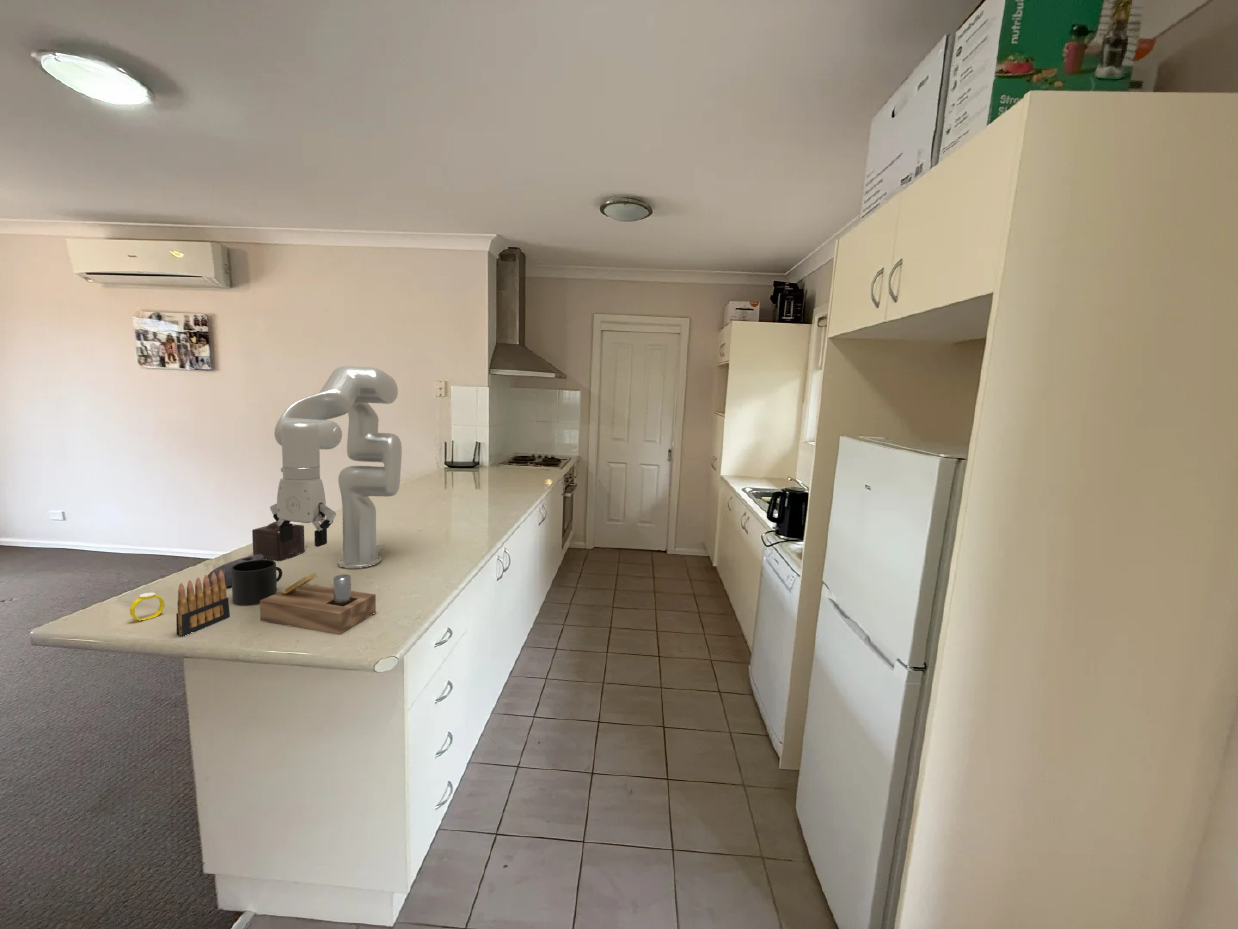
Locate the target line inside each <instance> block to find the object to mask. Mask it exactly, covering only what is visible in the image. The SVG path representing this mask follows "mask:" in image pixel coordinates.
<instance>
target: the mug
mask: <svg viewBox="0 0 1238 929" xmlns="http://www.w3.org/2000/svg"><path fill="white" fill-rule="evenodd" d="M276 562H277V561H274V560H266V559H264V560H252V561H246V562H242V563H239V564H236V565H234V566H233V567H232V568H231V576H232V586H231V593H232V595H231V596H232V602H233V604H235V605H240V606H252V605H258V604H259V605H260V600H262V599H265V598H267V597H269V596H272V595H274V594H277V593H278V586H277V585H278V582H279V581H280V580H281V579H282V576H283V570H282V569H281V567H279V566H277V563H276ZM277 571H278V575H277Z"/></svg>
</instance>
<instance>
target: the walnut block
mask: <svg viewBox="0 0 1238 929" xmlns="http://www.w3.org/2000/svg"><path fill="white" fill-rule="evenodd" d="M282 591H283V590H282ZM282 591H280V592H279V591H278V592H277V594H274V595H272V596H269V597H267V598H265V599H262V600H260V603H259V616H260V621H262V622H267V623H273V624H279V625H284V626H290V627H296V628H302V629H307V630H313V631H319V632H325V633H330V634H336V635H342V634H343V633H346V631H349V630H351V629H352V628H354V627H355V626H356V625H359V624H360V623H362V622H364V621H365V620H366V619H368V617H369V616H370V617H372V616H373V615H372V614H373V613H375V614H376V612H377V611H376V610H377V607H376V606H377V605H376V603H377V602H376V601H377V600H376V599H377V596H376V593H369V592H362V591H355V590H351V603H349V604H348V605H346V606H337V605H334V587H330V586H323V585H317V584H309V583H306V584H304V585H303V586H301V587H299V588H298V589H296V590H294V591H292V592H290V593H287V594H285V595H283V594H282ZM371 615H372V616H371ZM370 617H369V618H370ZM364 619H365V620H364ZM363 620H364V621H363Z"/></svg>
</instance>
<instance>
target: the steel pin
mask: <svg viewBox="0 0 1238 929" xmlns="http://www.w3.org/2000/svg"><path fill="white" fill-rule="evenodd" d="M351 583H352V582H351V575H349V574H339V575H335V576H334V577H333V588H334V605H337V606H346V605H348V604H349V603H351V591H352V588H351V587H352V585H351Z"/></svg>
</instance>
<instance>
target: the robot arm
mask: <svg viewBox="0 0 1238 929" xmlns="http://www.w3.org/2000/svg"><path fill="white" fill-rule="evenodd" d="M398 393H399V388H398V384H397V382H396V380H395V379H394V378H393V377H392V376H391V375H389V373H387V372H384V370H381V369H379V368H376V367H366V366H353V365H352V366H351V365H346V366H345V365H344V366H339V367H336V368H335V369H334V370H333V371H332V373H331V374H330V376H329V377H328V379H327V380H326V382H325V383H324V384H323V386H322V387H321V389H320V391H319V392H316V393H313V394H311V395H309V396H306V397H305V398H302V399H300V400H298V401H295V402H293V403H292V404H290V405H289V406H287V407H286V409H285V410H284V412H283V413H282V414H281V415H280V417H279V419H278V420H277V422H276V425H275V428H274V433H273V434H274V438H275V442H277V444H279V445H280V446H281V458H282V467H281V468H280V471H281V473H282V478H280V479H279V483H278V486H277V496H276V503H274V504H273V505H270V506H269V509H270V511H271V513H272V517H273V519H274V520H275V522H276V521H277V525H278V526H279V530H280V542H286V541H289V540H292V539H293V525H292V524H293V523H300V524H301V523H302V524H310V523H312V525H313V526H314V528H315V529H316V530H314V535H313V536H314V547H315V548H319V547H321V546H324V545H327V543H328V531H327V530H328V529H329V528H330V527H331V525H332V524H333V522H334V520H335V518H336V516H337V513H336V511H334V510H333V509H331V508H330V507H328V506H327V502H326V492H325V488H324V487H325V486H324V484H323V479H321V466H320V465H321V464H320V463H321V458H320V457H321V454H320V452H321V450H325V451H326V450H333V449H335V448H336V447H337V446H339V445H340V443H341V441H342V440H343V439H342V438H343V431H342V428H341V425H339V424H338V423H337V422H335V421H333V420H331V419H337V418H338V417H343V416H345V415H346V414H347V416H348V429H347V438H346V439H347V440H346V455H347V457H348V458H349V460H351V461H354V462H362V463H363V462H364V463H366V462H367V463H383V466H372V465H350V466H346V467H344V468H342V469H341V471H340V472H339V474H338V477H337V478H338V479H337V480H338V481H337V482H338V487H339V491H340V496H341V507H342V508H341V510H342V514H341V515H342V557H340V558H338V560H337V566H338V565H339V566H338V567H340V566H341V567H340V568H342V567H345V568H344V569H347V568H360V567H366V566H369V565H373V564H377V563H378V562H380V561H381V559H382V556H381V555H380V554H378V553H379V552H380V551H383V550H384V549H385V548H386V546H385V544H384V543H381V544H378V545H377V509H376V505H375V504H374V502H373V501H372V500H371V498H370V497H393V496H396V495H397V494H398V492H399V489H400V482H401V469H402V456H403V455H402V454H403V449H402V441H401V439H400V437H399V436H398V435H397V434H395V433H390V432H379V423H380V422H379V421H380V420H379V415H378V414H377V412H376V411H375V410H374V409H373V407H372V406H371V404H383V405H384V404H385V405H389V404H393V403H394V402H395V401H396V399H397V398H398ZM291 522H293V523H291ZM289 523H290V524H289ZM382 560H383V559H382ZM381 562H382V561H381ZM381 562H380V563H381ZM377 565H378V564H377ZM360 569H361V568H360Z"/></svg>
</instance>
